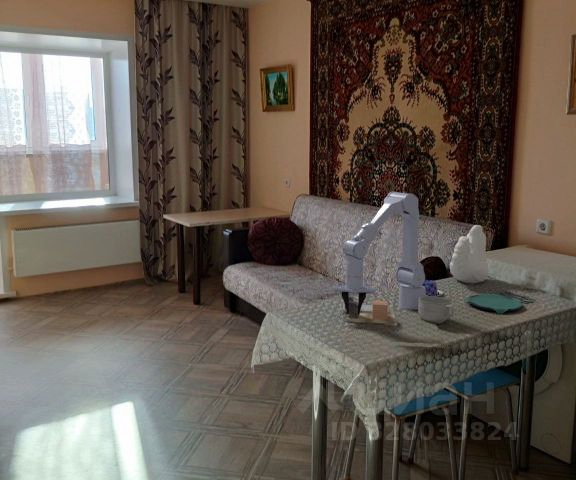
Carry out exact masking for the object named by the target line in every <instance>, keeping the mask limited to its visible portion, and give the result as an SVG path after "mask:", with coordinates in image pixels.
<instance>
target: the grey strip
mask: <svg viewBox="0 0 576 480" xmlns="http://www.w3.org/2000/svg"><path fill="white" fill-rule="evenodd" d="M349 301H353V302H354V293H349ZM342 313H344V314H346V313H347V311H346V306H345V303H343V304H342ZM360 313H370V314H372V304H362V307H361V310H360ZM388 314H389V310H388Z"/></svg>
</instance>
